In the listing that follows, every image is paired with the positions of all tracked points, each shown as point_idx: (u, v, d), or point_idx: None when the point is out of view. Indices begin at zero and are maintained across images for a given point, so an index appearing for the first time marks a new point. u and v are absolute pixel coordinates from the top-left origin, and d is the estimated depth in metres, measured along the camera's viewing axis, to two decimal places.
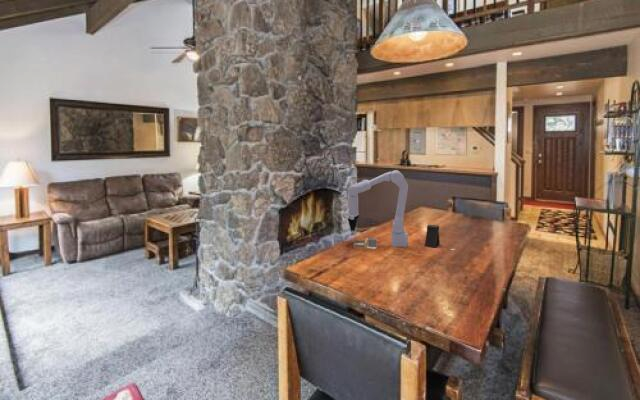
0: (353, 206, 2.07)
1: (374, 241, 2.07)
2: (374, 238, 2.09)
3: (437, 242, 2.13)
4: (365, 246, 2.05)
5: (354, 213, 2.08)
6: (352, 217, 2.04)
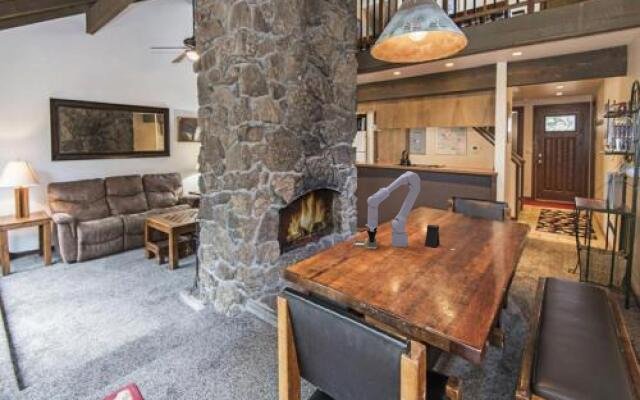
0: (374, 218, 2.03)
1: (374, 241, 2.07)
2: None
3: (437, 242, 2.13)
4: (365, 246, 2.05)
5: (373, 225, 2.04)
6: (372, 229, 2.00)
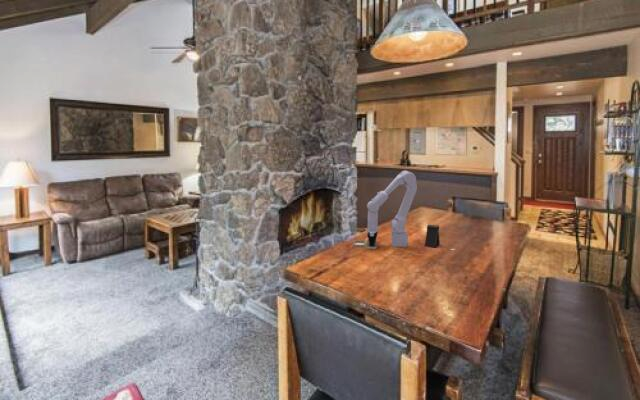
0: (374, 222, 2.04)
1: None
2: None
3: (437, 242, 2.13)
4: (365, 246, 2.05)
5: (373, 229, 2.05)
6: (372, 234, 2.01)
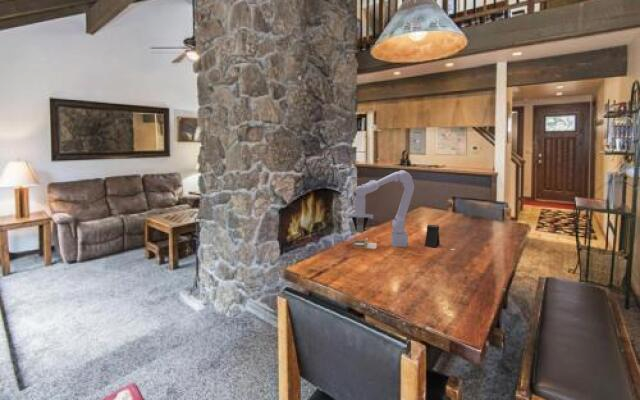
0: (361, 207, 2.04)
1: None
2: (362, 225, 2.07)
3: (437, 242, 2.13)
4: (365, 246, 2.05)
5: (355, 213, 2.07)
6: None
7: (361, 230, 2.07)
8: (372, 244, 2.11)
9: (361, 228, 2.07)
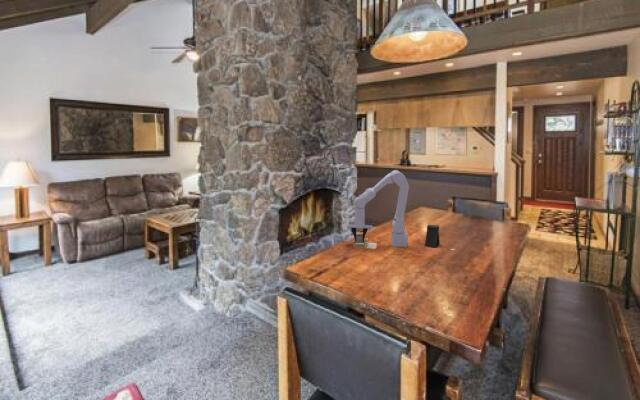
0: (360, 218, 2.05)
1: (356, 237, 2.09)
2: (361, 235, 2.09)
3: (437, 242, 2.13)
4: (365, 246, 2.05)
5: (354, 224, 2.08)
6: (347, 226, 2.10)
7: (360, 241, 2.08)
8: (372, 244, 2.11)
9: (360, 239, 2.08)
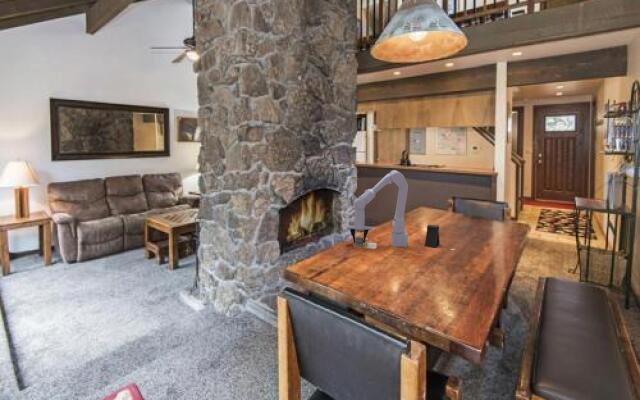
0: (360, 219, 2.05)
1: (356, 240, 2.09)
2: (361, 238, 2.09)
3: (437, 242, 2.13)
4: (365, 246, 2.05)
5: None
6: None
7: (360, 244, 2.08)
8: (372, 244, 2.11)
9: (360, 242, 2.08)
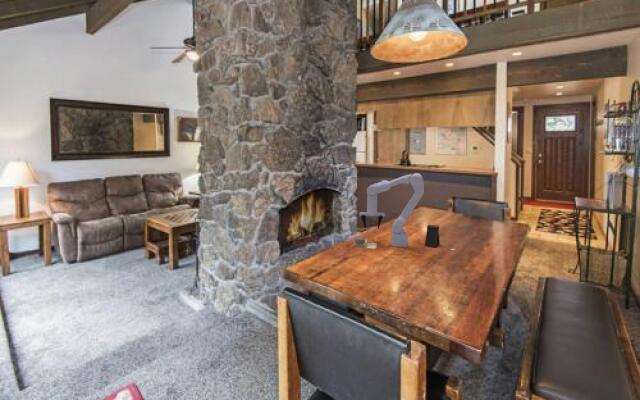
0: (371, 206, 2.08)
1: (356, 240, 2.09)
2: (361, 238, 2.09)
3: (437, 242, 2.13)
4: (365, 246, 2.05)
5: (367, 212, 2.11)
6: None
7: (360, 244, 2.08)
8: (372, 244, 2.11)
9: (360, 242, 2.08)
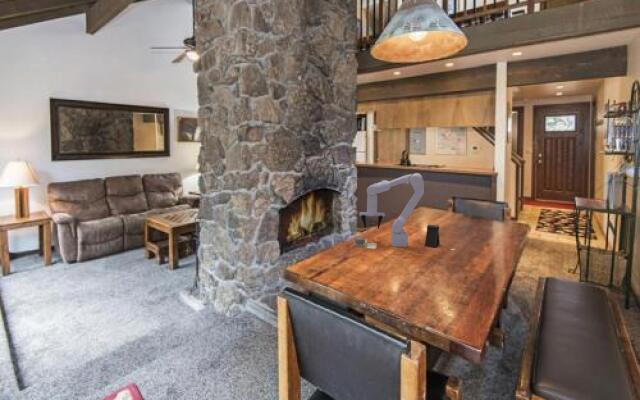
0: (371, 206, 2.08)
1: (356, 240, 2.09)
2: (361, 238, 2.09)
3: (437, 242, 2.13)
4: (365, 246, 2.05)
5: (367, 212, 2.11)
6: None
7: (360, 244, 2.08)
8: (372, 244, 2.11)
9: (360, 242, 2.08)
